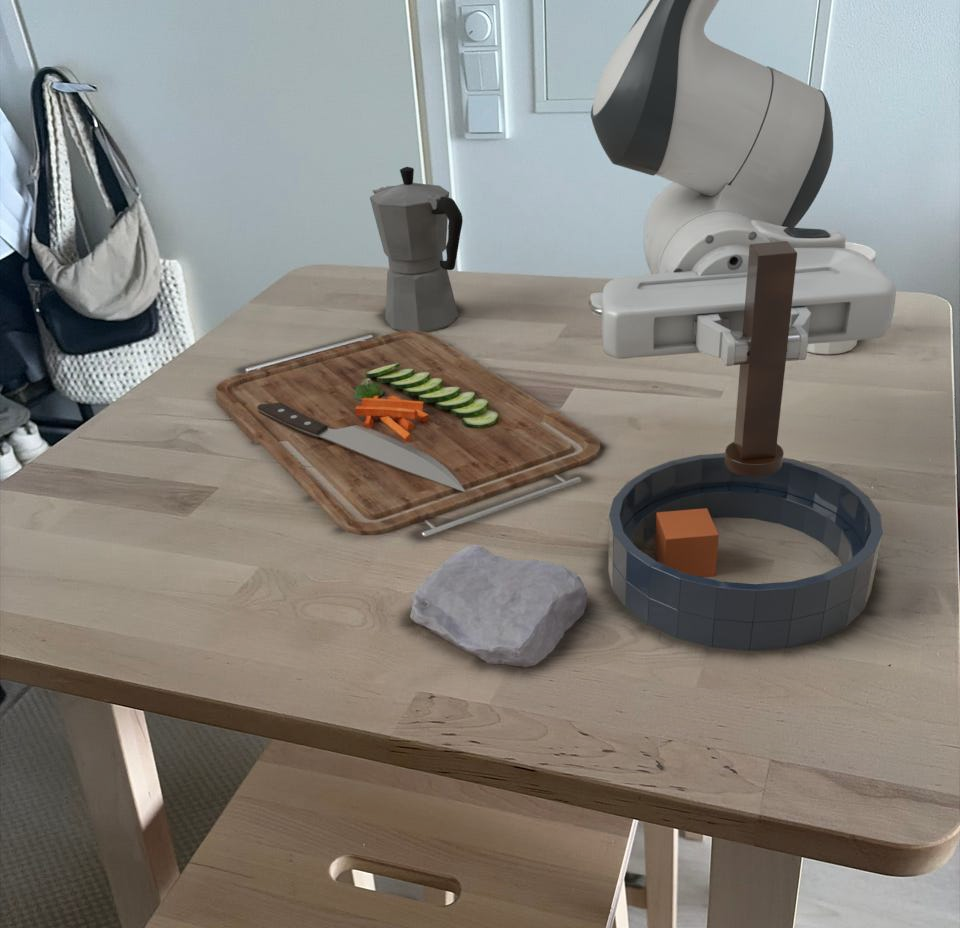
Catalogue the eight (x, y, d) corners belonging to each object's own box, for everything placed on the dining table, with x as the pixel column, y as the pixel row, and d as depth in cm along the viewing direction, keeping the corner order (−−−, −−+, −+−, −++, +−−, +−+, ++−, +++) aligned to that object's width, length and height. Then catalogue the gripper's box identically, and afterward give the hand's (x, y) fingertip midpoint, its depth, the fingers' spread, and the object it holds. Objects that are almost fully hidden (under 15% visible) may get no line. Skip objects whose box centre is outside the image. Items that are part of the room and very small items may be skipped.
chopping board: (631, 471, 95) (631, 441, 93) (369, 565, 85) (364, 534, 84) (411, 331, 127) (408, 306, 125) (202, 388, 117) (196, 362, 115)
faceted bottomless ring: (825, 508, 88) (835, 444, 84) (906, 649, 72) (923, 579, 69) (595, 524, 88) (595, 461, 85) (627, 668, 73) (629, 599, 69)
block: (703, 551, 83) (707, 507, 80) (715, 578, 80) (719, 534, 77) (654, 555, 83) (656, 512, 80) (663, 583, 80) (665, 539, 77)
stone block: (538, 702, 73) (598, 606, 78) (526, 657, 70) (590, 559, 75) (401, 660, 79) (466, 573, 84) (385, 616, 75) (453, 528, 80)
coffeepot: (360, 319, 131) (339, 168, 120) (417, 298, 136) (402, 151, 125) (439, 348, 122) (424, 187, 111) (497, 324, 127) (488, 168, 116)
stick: (774, 448, 75) (796, 235, 65) (788, 474, 71) (814, 255, 62) (719, 452, 75) (733, 241, 66) (730, 479, 72) (748, 261, 62)
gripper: (585, 250, 76) (608, 317, 65) (862, 228, 76) (932, 291, 65) (586, 333, 80) (608, 409, 69) (849, 312, 80) (914, 385, 69)
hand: (767, 352), depth 67 cm, fingers closed on stick, 2 cm apart
